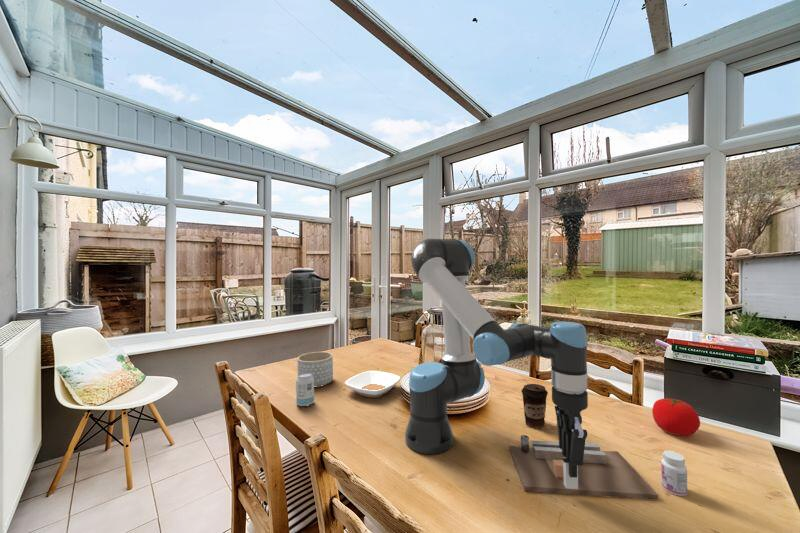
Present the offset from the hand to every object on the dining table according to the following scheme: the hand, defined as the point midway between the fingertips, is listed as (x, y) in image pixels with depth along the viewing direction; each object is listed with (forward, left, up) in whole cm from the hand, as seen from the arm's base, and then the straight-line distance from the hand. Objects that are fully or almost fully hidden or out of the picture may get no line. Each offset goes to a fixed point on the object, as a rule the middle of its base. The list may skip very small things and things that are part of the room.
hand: (570, 486), depth 75 cm
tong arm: (+4, +12, -1) cm, 13 cm away
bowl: (-60, +58, -3) cm, 84 cm away
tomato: (+45, +33, -3) cm, 55 cm away
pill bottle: (+26, +5, -3) cm, 26 cm away
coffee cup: (+2, +34, -3) cm, 34 cm away
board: (+5, +9, -2) cm, 11 cm away
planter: (-90, +66, -3) cm, 112 cm away
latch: (0, +6, -1) cm, 6 cm away
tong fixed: (+3, +16, -1) cm, 16 cm away
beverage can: (-85, +43, -3) cm, 96 cm away
